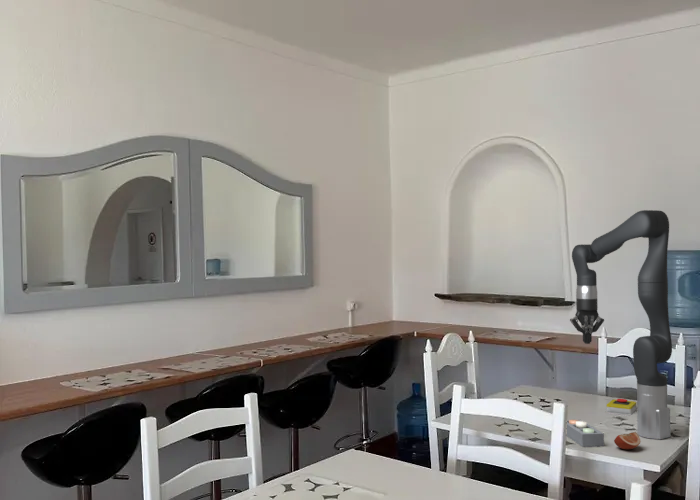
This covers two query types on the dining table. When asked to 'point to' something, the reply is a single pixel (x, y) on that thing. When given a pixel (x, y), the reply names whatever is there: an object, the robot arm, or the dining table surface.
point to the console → (585, 436)
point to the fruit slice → (627, 440)
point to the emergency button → (621, 407)
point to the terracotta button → (573, 421)
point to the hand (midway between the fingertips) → (587, 343)
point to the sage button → (588, 430)
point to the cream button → (581, 424)
